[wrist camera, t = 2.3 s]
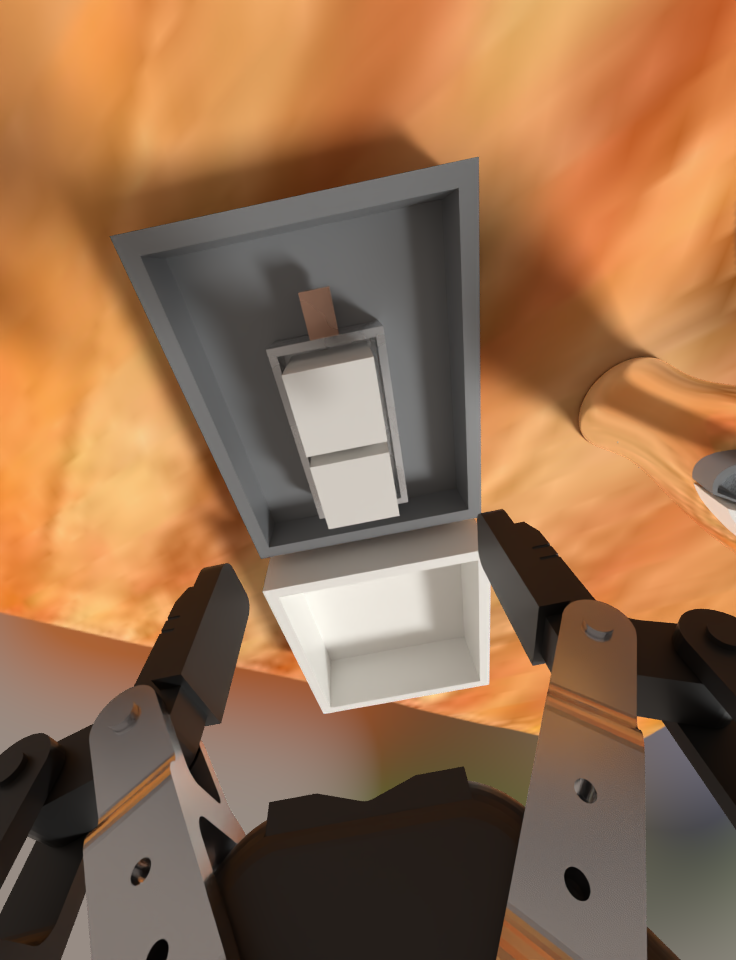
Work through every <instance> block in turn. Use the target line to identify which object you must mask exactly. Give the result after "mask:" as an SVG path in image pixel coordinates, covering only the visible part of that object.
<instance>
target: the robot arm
mask: <svg viewBox="0 0 736 960" xmlns="http://www.w3.org/2000/svg"><path fill="white" fill-rule="evenodd" d="M477 531H478V554H479V558H480V562H481V565H482V568H483V570H484V572H485V574H486V576H487V578H488V580H489V582H490V583H491V585H492V587H493V589H494V591H495V593H496V595H497V597H498V599H499V601H500V603H501V605H502V607H503V609H504V611H505V613H506V615H507V617H508V619H509V621H510V623H511V624H512V626H513V628H514V630H515V632H516V634H517V636H518V638H519V640H520V642H521V644H522V646H523V648H524V650H525V652H526V654H527V656H528V658H529V660H530V662H531V663H532V665H533V666H534V665H539V664H544V663H546V665H547V666H548V668H549V670H550V672H551V678H550V683H549V688H548V692H547V697H546V702H545V707H544V712H543V717H542V723H541V728H540V733H539V739H538V744H537V749H536V755H535V760H534V765H533V770H532V776H531V781H530V786H529V791H528V797H527V802H526V807H524V806H523V805H522V804H521V803H519V802H518V801H517V800H515V799H513V798H512V797H510V796H508V795H507V794H506V793H503V792H502V791H499V790H497V789H495V788H493V787H491V786H488V785H485V784H481V783H478V782H472V781H468V780H467V776H466V772H465V769H464V767H458V768H453V769H447V770H442V771H437V772H431V773H426V774H421V775H415V776H414V777H412V778H410V779H408V780H406V781H405V782H403V783H401V784H399V785H397V786H395V787H394V788H392V789H390V790H388V791H387V792H385V793H383V794H381V795H379V796H377V797H376V798H374V799H372V800H369V801H357V800H351V799H345V798H340V797H334V796H328V795H322V794H312V795H306V796H301V797H296V798H290V799H285V800H279V801H274V802H270V803H269V809H268V817H267V820H266V821H265V822H263V823H261V824H260V825H259V826H257V827H256V828H255V829H253V830H252V831H251V832H250V833H248V834H247V835H246V834H245V832H244V831H243V829H242V827H241V825H240V824H239V822H238V821H237V819H236V818H235V816H234V814H233V813H232V811H231V809H230V807H229V805H228V803H227V800H226V798H225V795H224V793H223V790H222V788H221V785H220V783H219V781H218V778H217V775H216V773H215V770H214V768H213V766H212V763H211V761H210V758H209V756H208V753H207V751H206V748H205V746H204V744H203V742H202V741H201V737H202V733H203V730H204V726H209V725H215V724H220V723H221V721H222V717H223V713H224V710H225V706H226V702H227V698H228V694H229V690H230V686H231V682H232V678H233V674H234V670H235V667H236V663H237V659H238V655H239V651H240V647H241V643H242V639H243V635H244V631H245V628H246V624H247V620H248V616H249V600H248V596H247V594H246V592H245V590H244V588H243V586H242V584H241V583H240V581H239V579H238V577H237V575H236V573H235V571H234V570H233V568H232V566H231V565H230V564H228V563H226V564H221V565H216V566H211V567H206V568H203V569H202V570H201V571H200V573H199V576H198V578H197V580H196V582H195V584H194V587H189V588H188V589H187V590H186V591H185V592H184V593H183V594H182V595H181V596H180V598H179V599H178V600H177V601H176V602H175V604H174V606H173V608H172V610H171V612H170V614H169V616H168V621H166V622H165V624H164V626H163V628H162V630H161V631H162V633H161V634H159V637H158V639H157V641H156V643H155V645H154V647H153V649H152V651H151V653H150V655H149V657H148V659H147V661H146V663H145V665H144V667H143V669H142V671H141V673H140V675H139V677H138V679H137V681H136V683H135V685H134V687H132V688H129V689H127V690H125V691H124V692H122V693H120V694H119V695H118V696H116V697H115V698H114V699H113V700H112V701H110V702H109V704H107V706H106V707H105V708H104V709H103V710H102V711H101V713H100V714H99V715H98V717H97V718H96V720H95V722H94V724H92V725H90V726H88V727H86V728H84V729H82V730H80V731H78V732H76V733H74V734H72V735H70V736H68V737H66V738H64V739H62V740H60V741H58V742H56V741H55V740H54V739H52V738H51V737H49V736H48V735H46V734H44V733H38V734H33V735H30V736H28V737H25V738H23V739H21V740H20V741H18V742H16V743H15V744H13V745H12V746H11V747H9V748H8V749H7V750H5V751H4V752H3V753H2V754H1V755H0V889H1V887H2V885H3V883H4V881H5V879H6V877H7V875H8V873H9V871H10V869H11V867H12V865H13V863H14V861H15V859H16V857H17V855H18V853H19V852H20V850H21V848H22V846H23V844H24V842H25V840H26V838H27V836H28V837H30V838H32V839H34V840H36V842H35V844H34V846H33V848H32V851H31V853H30V854H29V856H28V858H27V861H26V863H25V865H24V867H23V869H22V871H21V873H20V875H19V877H18V879H17V881H16V883H15V885H14V887H13V889H12V891H11V893H10V895H9V897H8V899H7V901H6V903H5V905H4V907H3V909H2V911H1V913H0V960H61V957H62V955H63V952H64V949H65V947H66V944H67V941H68V938H69V936H70V933H71V931H72V928H73V925H74V922H75V920H76V917H77V914H78V912H79V909H80V906H81V904H82V901H83V898H84V895H85V893H86V897H87V909H88V922H89V935H90V948H91V960H680V959H679V958H678V957H677V956H676V955H675V954H674V953H673V952H672V951H671V950H670V949H669V948H668V947H667V946H666V945H665V944H664V943H663V942H662V941H661V940H660V939H659V938H658V937H657V936H656V935H655V934H654V933H653V932H652V931H651V930H650V929H649V928H648V927H647V921H646V920H647V916H646V841H645V840H646V838H645V837H646V833H645V752H644V739H643V734H642V731H641V730H639V729H638V727H637V716H640V717H646V718H652V719H658V720H662V722H663V723H664V724H665V726H666V727H667V729H668V730H669V731H670V733H671V735H672V736H673V738H674V739H675V741H676V742H677V744H678V745H679V747H680V748H681V750H682V751H683V752H684V754H685V755H686V757H687V758H688V760H689V761H690V763H691V764H692V766H693V767H694V769H695V770H696V772H697V773H698V775H699V776H700V777H701V779H702V780H703V781H704V783H705V785H706V786H707V788H708V789H709V791H710V792H711V794H712V795H713V797H714V798H715V800H716V801H717V803H718V804H719V805H720V807H721V808H722V810H723V811H724V813H725V814H726V816H727V817H728V819H729V820H730V821H731V823H732V824H733V826H734V828H735V829H736V617H734V616H731V615H729V614H726V613H723V612H719V611H715V610H709V609H694V610H690V611H687V612H685V613H684V614H683V615H682V616H681V617H680V619H679V622H678V624H675V623H664V622H653V621H642V620H635V619H631V618H627V617H626V616H625V615H624V614H623V613H622V612H620V611H619V610H618V609H616V608H614V607H613V606H610V605H608V604H606V603H603V602H600V601H596V600H595V599H594V598H593V597H592V595H591V594H590V593H589V592H588V590H587V589H586V588H585V587H584V585H583V584H582V583H581V582H580V581H579V579H578V578H577V577H576V576H575V574H574V573H573V572H572V571H571V569H570V568H569V567H568V566H567V565H566V563H565V562H564V561H563V560H562V558H561V557H559V556H558V553H557V552H556V551H555V550H554V549H553V547H552V546H550V544H549V542H548V541H547V540H546V539H545V537H544V536H543V535H542V534H541V533H540V531H538V530H537V529H535V528H533V527H532V526H530V525H528V524H527V523H525V522H520V523H515V524H514V523H513V521H512V520H511V519H510V517H509V516H508V514H507V513H506V512H505V511H504V510H503V509H500V510H495V511H490V512H485V513H480V514H478V516H477Z"/></svg>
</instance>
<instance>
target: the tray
mask: <svg viewBox="0 0 736 960" xmlns="http://www.w3.org/2000/svg"><path fill="white" fill-rule="evenodd" d="M110 238H111V240H112V242H113V244H114V247H115V249H116V251H117V253H118V255H119V257H120V259H121V262H122V264H123V266H124V268H125V270H126V272H127V274H128V276H129V279H130V281H131V283H132V285H133V287H134V289H135V291H136V293H137V296H138V298H139V300H140V302H141V304H142V306H143V308H144V311H145V313H146V315H147V317H148V319H149V321H150V323H151V325H152V328H153V330H154V332H155V334H156V336H157V338H158V340H159V343H160V345H161V347H162V349H163V351H164V353H165V355H166V357H167V360H168V362H169V364H170V366H171V368H172V370H173V372H174V374H175V377H176V379H177V381H178V383H179V385H180V387H181V389H182V392H183V394H184V396H185V398H186V400H187V402H188V404H189V406H190V409H191V411H192V413H193V415H194V417H195V419H196V421H197V423H198V426H199V428H200V430H201V432H202V434H203V436H204V438H205V441H206V443H207V445H208V447H209V449H210V451H211V453H212V455H213V458H214V460H215V462H216V464H217V466H218V468H219V470H220V472H221V475H222V477H223V479H224V481H225V483H226V485H227V487H228V490H229V492H230V494H231V496H232V498H233V500H234V502H235V504H236V507H237V509H238V511H239V513H240V515H241V517H242V519H243V521H244V524H245V526H246V528H247V530H248V532H249V534H250V536H251V539H252V541H253V543H254V545H255V547H256V549H257V551H258V553H259V556H260V558H261V559H263V558H268V557H274V556H279V555H284V554H289V553H295V552H300V551H305V550H310V549H316V548H321V547H326V546H331V545H337V544H342V543H347V542H352V541H358V540H363V539H368V538H373V537H379V536H384V535H389V534H394V533H400V532H405V531H410V530H415V529H421V528H426V527H431V526H436V525H442V524H447V523H452V522H457V521H463V520H468V519H473V518H477V516H478V514H480V513H481V425H480V271H479V157H475V158H470V159H466V160H461V161H456V162H452V163H447V164H442V165H438V166H433V167H429V168H424V169H419V170H415V171H410V172H405V173H401V174H396V175H391V176H387V177H382V178H378V179H373V180H368V181H364V182H359V183H354V184H350V185H345V186H341V187H336V188H331V189H327V190H322V191H317V192H313V193H308V194H303V195H299V196H294V197H290V198H285V199H280V200H276V201H271V202H266V203H262V204H257V205H253V206H248V207H243V208H239V209H234V210H229V211H225V212H220V213H215V214H211V215H206V216H202V217H197V218H192V219H188V220H183V221H178V222H174V223H169V224H165V225H160V226H155V227H151V228H146V229H141V230H137V231H132V232H127V233H123V234H118V235H114V236H110ZM326 286H330V291H331V296H332V301H333V305H334V310H335V315H336V320H337V325H338V328H340V327H345V326H350V325H355V324H360V323H365V322H370V321H374V320H379V322H380V323H381V324H382V325H383V328H384V335H385V342H386V349H387V356H388V363H389V370H390V377H391V384H392V391H393V398H394V405H395V412H396V419H397V426H398V433H399V440H400V447H401V454H402V461H403V468H404V475H405V482H406V489H407V496H408V502H406V503H401V504H398V509H399V515H400V516H396V517H390V518H385V519H380V520H375V521H370V522H364V523H359V524H354V525H349V526H344V527H338V528H333V529H329V528H328V525H327V522H326V519H325V518H323V519H320V518H319V515H318V512H317V508H316V505H315V502H314V499H313V496H312V493H311V490H310V487H309V483H308V480H307V477H306V474H305V471H304V468H303V465H302V461H301V458H300V455H299V452H298V449H297V446H296V443H295V440H294V436H293V433H292V430H291V427H290V424H289V421H288V418H287V414H286V411H285V408H284V405H283V402H282V399H281V396H280V393H279V389H278V386H277V383H276V380H275V377H274V374H273V371H272V367H271V364H270V361H269V358H268V355H267V352H266V349H267V348H268V347H269V346H270V345H271V344H272V343H273V342H274V341H277V340H282V339H287V338H292V337H297V336H302V335H306V334H308V330H307V326H306V322H305V319H304V315H303V311H302V307H301V303H300V299H299V295H298V293H299V292H302V291H307V290H311V289H316V288H321V287H326Z"/></svg>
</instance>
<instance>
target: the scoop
mask: <svg viewBox="0 0 736 960" xmlns="http://www.w3.org/2000/svg"><path fill="white" fill-rule="evenodd" d="M298 295H299V299H300V303H301V307H302V311H303V315H304V319H305V322H306V326H307V330H308V334H306V335H302V336H297V337H292V338H287V339H282V340H277V341H274V342H273V343H272V344H271V345H270V346H269V347H268V348H267V349H266V352H267V355H268V358H269V361H270V364H271V367H272V371H273V374H274V377H275V380H276V383H277V386H278V389H279V393H280V396H281V399H282V402H283V405H284V408H285V411H286V414H287V418H288V421H289V424H290V427H291V430H292V433H293V436H294V440H295V443H296V446H297V449H298V452H299V455H300V458H301V461H302V465H303V468H304V471H305V474H306V477H307V480H308V483H309V487H310V490H311V493H312V496H313V499H314V502H315V505H316V508H317V512H318V515H319V518H320V519H323V518H325V515H324V512H323V509H322V506H321V502H320V499H319V496H318V493H317V489H316V486H315V483H314V480H313V476H312V473H311V470H310V463H311V457H306V454H305V450H304V447H303V444H302V441H301V437H300V434H299V431H298V428H297V424H296V421H295V418H294V415H293V411H292V408H291V405H290V402H289V398H288V395H287V392H286V389H285V385H284V382H283V379H282V376H281V375H282V374H283V372H284V370H285V368H286V366H287V364H288V362H289V360H290V358H291V356H294V355H299V354H304V353H309V352H314V351H319V350H324V349H329V348H334V347H338V346H343V345H348V344H353V343H358V342H363V341H367V343H368V345H369V348H370V350H371V352H372V354H373V357H374V362H375V368H376V374H377V380H378V387H379V393H380V399H381V405H382V411H383V417H384V423H385V429H386V436H387V442H386V443H387V446H388V450H389V454H390V460H391V466H392V472H393V478H394V484H395V491H396V497H397V503H398V504H401V503H406V502H408V496H407V489H406V482H405V475H404V468H403V461H402V454H401V447H400V440H399V433H398V426H397V419H396V412H395V405H394V398H393V391H392V384H391V377H390V370H389V363H388V356H387V349H386V342H385V335H384V328H383V325H382V324H381V323H380V322H379V320H374V321H370V322H365V323H360V324H355V325H350V326H345V327H340V328H338V325H337V320H336V315H335V310H334V305H333V301H332V296H331V291H330V286H326V287H321V288H316V289H311V290H307V291H302V292H299V293H298Z"/></svg>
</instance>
